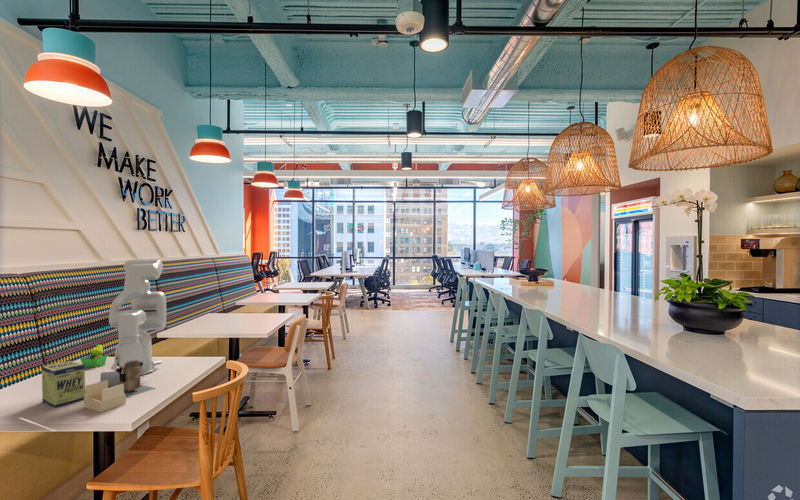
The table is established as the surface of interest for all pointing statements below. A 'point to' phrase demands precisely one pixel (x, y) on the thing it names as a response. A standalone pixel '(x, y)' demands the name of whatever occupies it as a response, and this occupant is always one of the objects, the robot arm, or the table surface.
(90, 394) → the beige open box
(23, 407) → the table surface
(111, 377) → the ceramic mug
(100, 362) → the fruit basket
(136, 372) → the walnut block
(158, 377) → the table surface
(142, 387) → the rubber mat
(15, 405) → the table surface
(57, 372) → the protein box
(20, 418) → the table surface
